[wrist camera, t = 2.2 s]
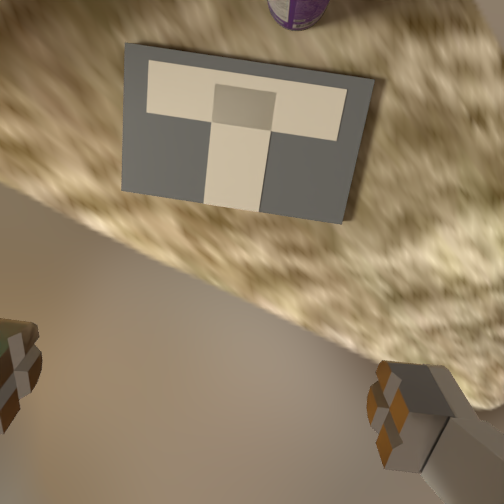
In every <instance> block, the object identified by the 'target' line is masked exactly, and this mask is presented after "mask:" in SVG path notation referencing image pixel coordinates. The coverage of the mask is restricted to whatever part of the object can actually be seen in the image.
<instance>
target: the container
mask: <svg viewBox="0 0 504 504" xmlns="http://www.w3.org/2000/svg"><path fill="white" fill-rule="evenodd" d="M267 1H268V6H269V10H270V13H271V15H272V16H273V18H274V19H275V21H276V22H277V23H278V24H279V25H280V26H282V27H283V28H285V29H288V30H292V31H301V30H305V29H307V28H309V27H311V26H313V25H314V24H315V23H316V22H317V21H318V20H319V19H320V18H321V16H322V15H323V13H324V11H325V9H326V7H327V5H328V3H329V1H330V0H267Z"/></svg>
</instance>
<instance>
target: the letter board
mask: <svg viewBox="0 0 504 504" xmlns="http://www.w3.org/2000/svg"><path fill="white" fill-rule="evenodd" d="M374 82H375V80H374V79H367V78H361V77H354V76H347V75H340V74H334V73H327V72H320V71H313V70H307V69H300V68H293V67H286V66H280V65H273V64H266V63H259V62H253V61H246V60H239V59H232V58H226V57H219V56H212V55H205V54H199V53H192V52H185V51H179V50H172V49H165V48H158V47H152V46H145V45H138V44H131V43H125V60H124V103H123V146H122V189H121V191H126V192H133V193H139V194H146V195H152V196H159V197H165V198H172V199H178V200H185V201H191V202H198V203H203V204H209V205H216V206H222V207H229V208H235V209H242V210H248V211H255V212H263V213H269V214H276V215H283V216H289V217H296V218H302V219H309V220H315V221H322V222H328V223H335V224H341V225H342V221H343V217H344V212H345V208H346V203H347V199H348V195H349V190H350V186H351V182H352V177H353V173H354V169H355V164H356V160H357V156H358V151H359V147H360V143H361V138H362V134H363V129H364V125H365V121H366V116H367V112H368V108H369V103H370V99H371V95H372V90H373V86H374Z"/></svg>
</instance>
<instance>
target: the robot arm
mask: <svg viewBox="0 0 504 504" xmlns="http://www.w3.org/2000/svg"><path fill="white" fill-rule="evenodd" d="M38 338H39V332H38V326H37V325H36V324H34V323H33V322H26V321H18V320H11V319H3V318H0V434H4V433H5V432H6V430H7V429H8V427H9V426H10V424H11V423H12V421H13V420H14V418H15V416H16V414H17V413H18V412H19V410H20V403H19V400H20V399H21V398H23V397H25V396H26V395H28V394H30V393H31V392H32V390H33V389H34V387H35V386H36V384H37V382H38V379H39V376H40V373H41V370H42V352H41V351H40V350H39V349H38V348H37V347H36V346H35V344H34V343H35V342H36V341H37V340H38ZM376 375H377V378H378V381H377V382H376V383H374V384H373V385H371V386H370V389H369V392H368V396H367V407H366V408H367V416H368V420H369V423H370V426H371V427H372V428H373V429H374V430H375V431H376V432H377V433H378V434H379V435H378V438H377V441H376V445H377V449H378V452H379V455H380V458H381V461H382V464H383V467H384V469H387V470H396V471H404V472H412V473H420V474H421V477H422V478H423V479H424V480H425V481H426V483H427V484H428V485H429V486H430V487H431V488H432V489H433V491H435V493H436V494H437V495H438V496H439V498H440V499H441V500H442V501H443V502H444V503H445V504H504V434H503V433H502V432H500V431H499V430H498V429H497V428H495V427H494V426H493V425H491V424H490V423H489V422H487V421H482V420H480V419H479V418H478V416H477V415H476V413H475V411H474V410H473V408H472V406H471V405H470V403H469V402H468V400H467V398H466V397H465V395H464V394H463V392H462V390H461V389H460V387H459V386H458V384H457V382H456V381H455V379H454V378H453V376H452V374H451V373H450V371H449V370H448V369H447V368H446V367H445V366H442V365H430V364H414V363H405V362H395V361H385V360H382V361H381V362H380V363H379V365H378V367H377V370H376Z"/></svg>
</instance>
